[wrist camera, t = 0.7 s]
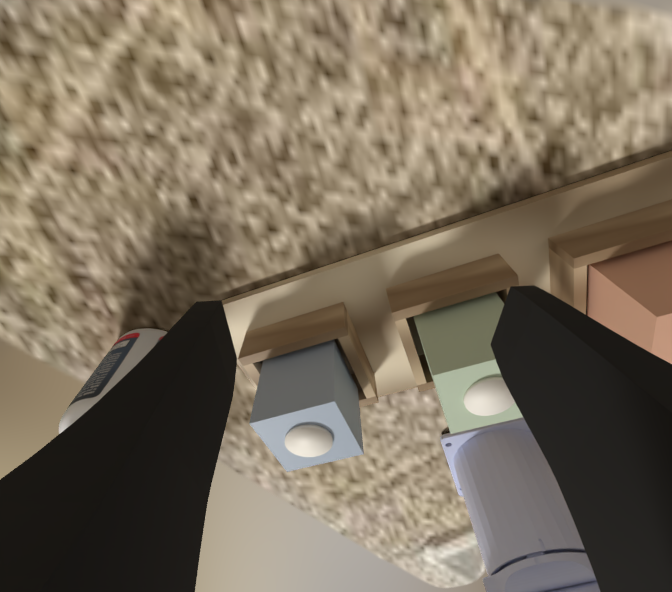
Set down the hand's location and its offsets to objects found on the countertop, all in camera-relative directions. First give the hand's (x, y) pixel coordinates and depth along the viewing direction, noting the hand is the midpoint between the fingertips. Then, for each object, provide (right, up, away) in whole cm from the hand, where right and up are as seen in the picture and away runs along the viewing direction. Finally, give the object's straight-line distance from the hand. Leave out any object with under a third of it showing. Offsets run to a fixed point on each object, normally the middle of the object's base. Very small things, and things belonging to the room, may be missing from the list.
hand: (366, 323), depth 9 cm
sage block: (+6, -1, +11) cm, 13 cm away
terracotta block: (+15, +1, +9) cm, 18 cm away
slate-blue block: (-2, -4, +13) cm, 13 cm away
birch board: (+6, 0, +13) cm, 14 cm away
